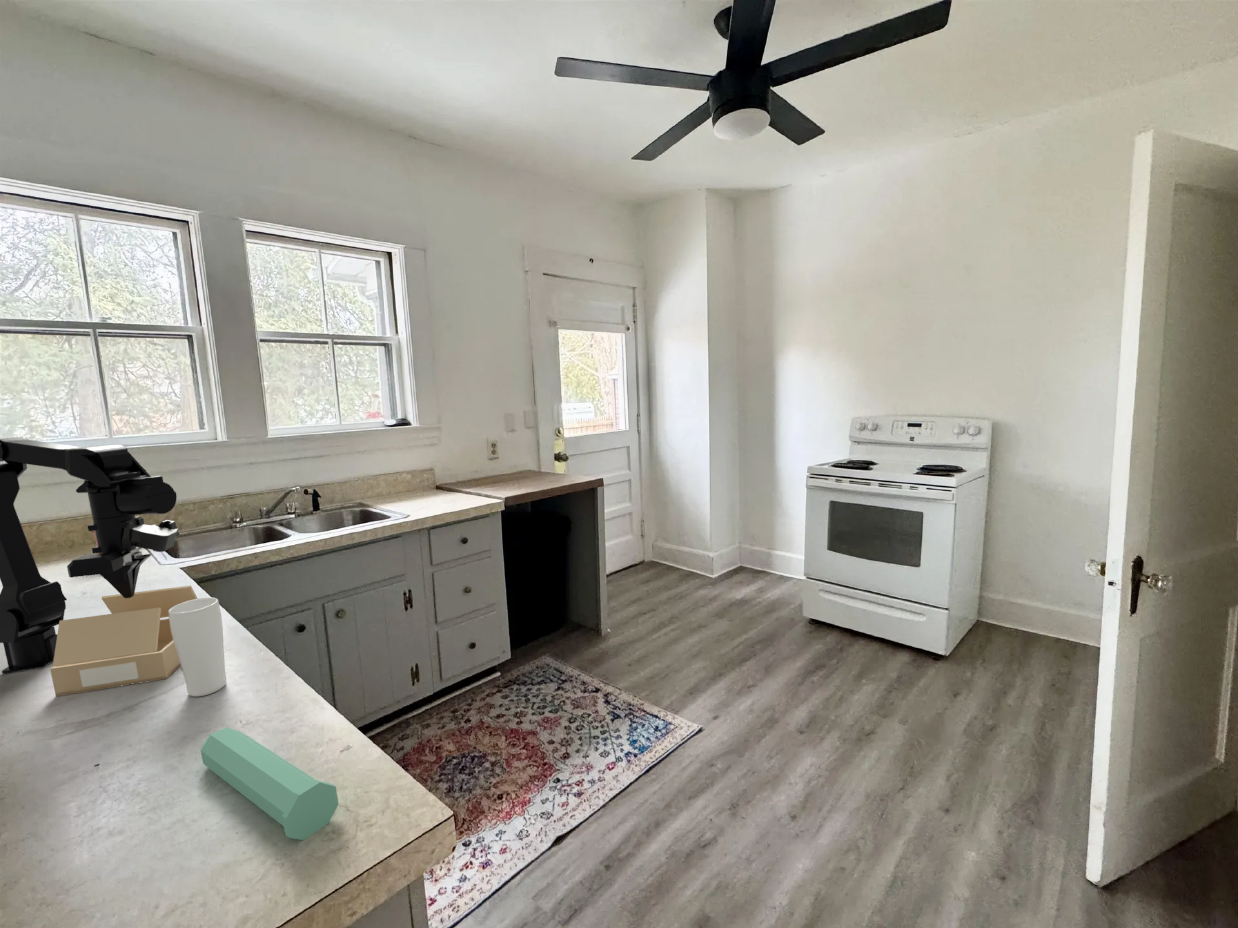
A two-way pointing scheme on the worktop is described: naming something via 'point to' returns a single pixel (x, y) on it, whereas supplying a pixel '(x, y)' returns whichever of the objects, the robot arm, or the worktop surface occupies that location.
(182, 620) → the drinking glass
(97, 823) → the worktop surface
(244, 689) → the worktop surface
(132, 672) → the carton
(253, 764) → the green octagonal rod
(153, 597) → the flap
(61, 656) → the flap
